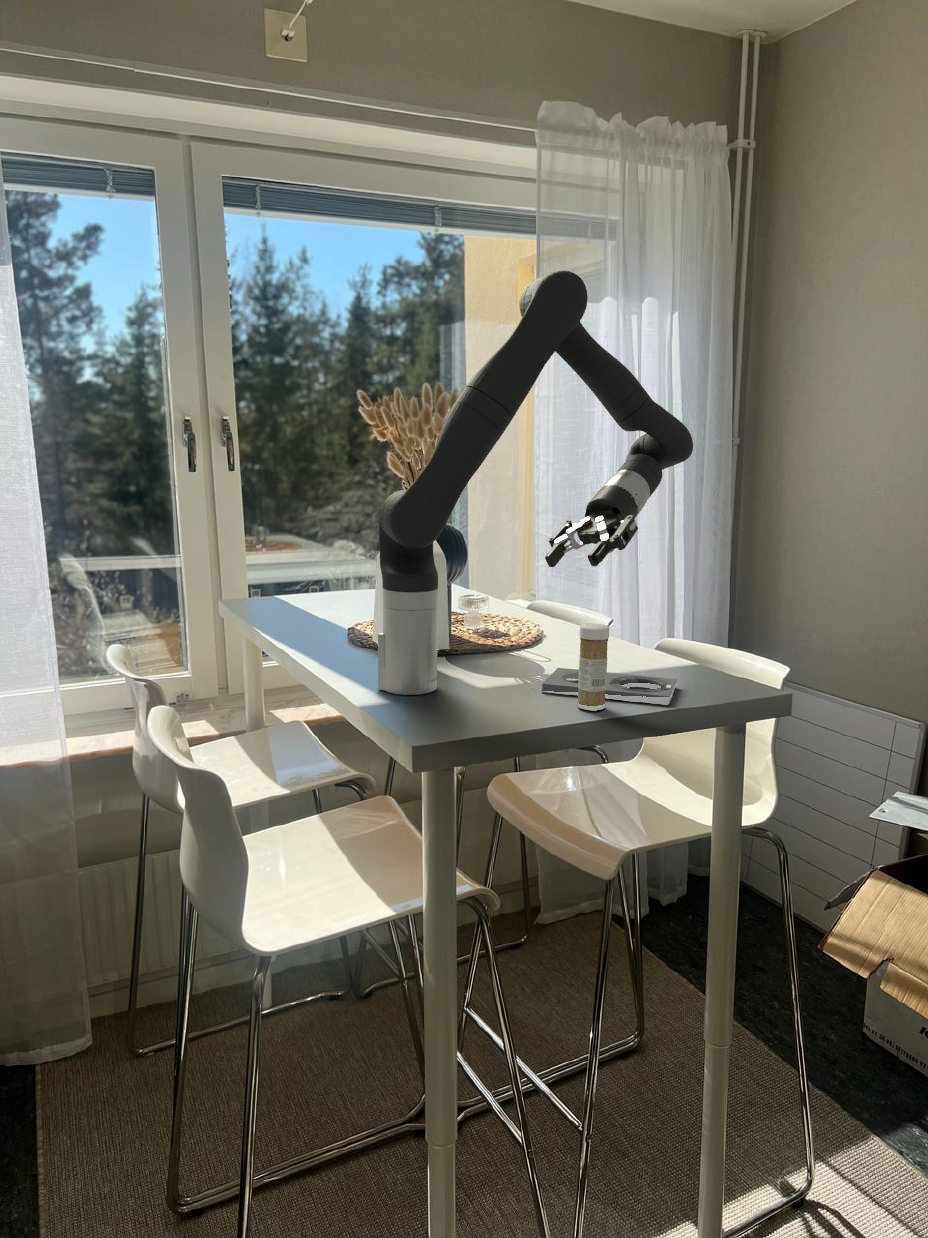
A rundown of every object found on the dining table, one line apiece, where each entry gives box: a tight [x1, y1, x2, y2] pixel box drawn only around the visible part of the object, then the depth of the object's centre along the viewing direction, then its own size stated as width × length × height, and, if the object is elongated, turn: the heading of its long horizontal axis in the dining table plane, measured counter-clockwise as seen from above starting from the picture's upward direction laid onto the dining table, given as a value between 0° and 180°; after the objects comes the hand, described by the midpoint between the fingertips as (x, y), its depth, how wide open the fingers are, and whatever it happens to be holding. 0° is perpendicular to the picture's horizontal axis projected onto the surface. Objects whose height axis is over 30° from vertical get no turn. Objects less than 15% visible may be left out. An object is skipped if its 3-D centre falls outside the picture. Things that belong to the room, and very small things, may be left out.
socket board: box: [541, 667, 678, 697], centre depth 155 cm, size 21×12×2 cm, turn 71°
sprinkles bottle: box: [577, 622, 610, 706], centre depth 143 cm, size 5×5×14 cm
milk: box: [371, 539, 450, 650], centre depth 183 cm, size 12×12×26 cm
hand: (569, 562), depth 142 cm, fingers open, 8 cm apart
